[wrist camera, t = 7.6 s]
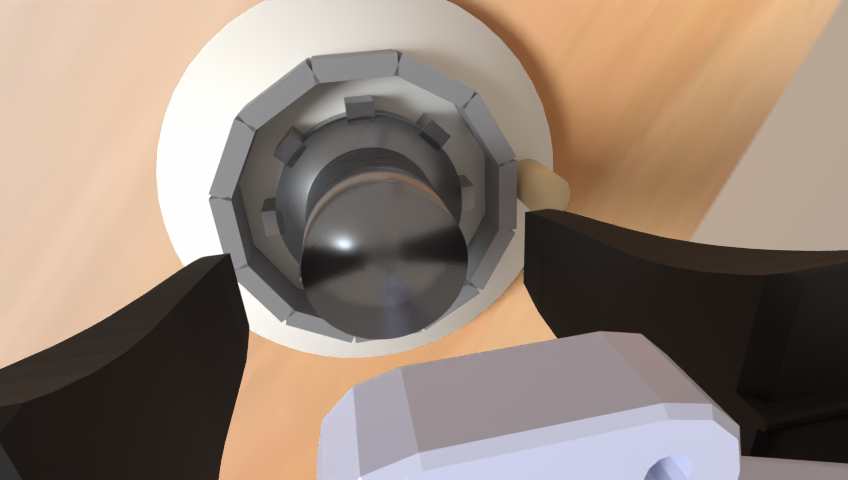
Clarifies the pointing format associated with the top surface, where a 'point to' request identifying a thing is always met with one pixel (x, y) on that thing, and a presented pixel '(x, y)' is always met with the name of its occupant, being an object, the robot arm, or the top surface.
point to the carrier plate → (324, 97)
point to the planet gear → (372, 219)
